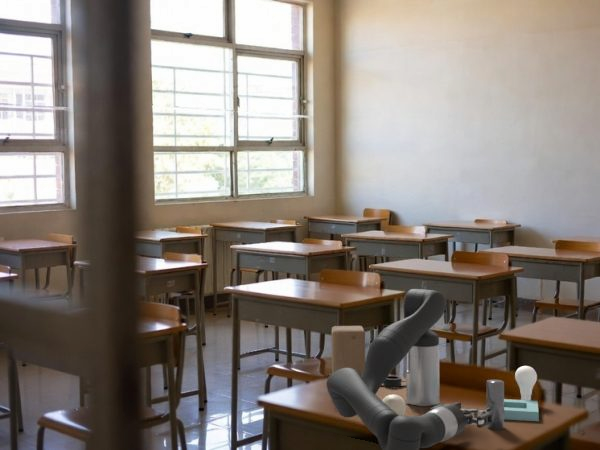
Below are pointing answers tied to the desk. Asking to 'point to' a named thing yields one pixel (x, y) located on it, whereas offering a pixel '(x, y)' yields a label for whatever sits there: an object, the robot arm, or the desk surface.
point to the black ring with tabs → (393, 381)
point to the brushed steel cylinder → (496, 403)
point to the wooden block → (348, 348)
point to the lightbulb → (526, 381)
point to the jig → (521, 410)
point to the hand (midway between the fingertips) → (475, 408)
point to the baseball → (395, 404)
